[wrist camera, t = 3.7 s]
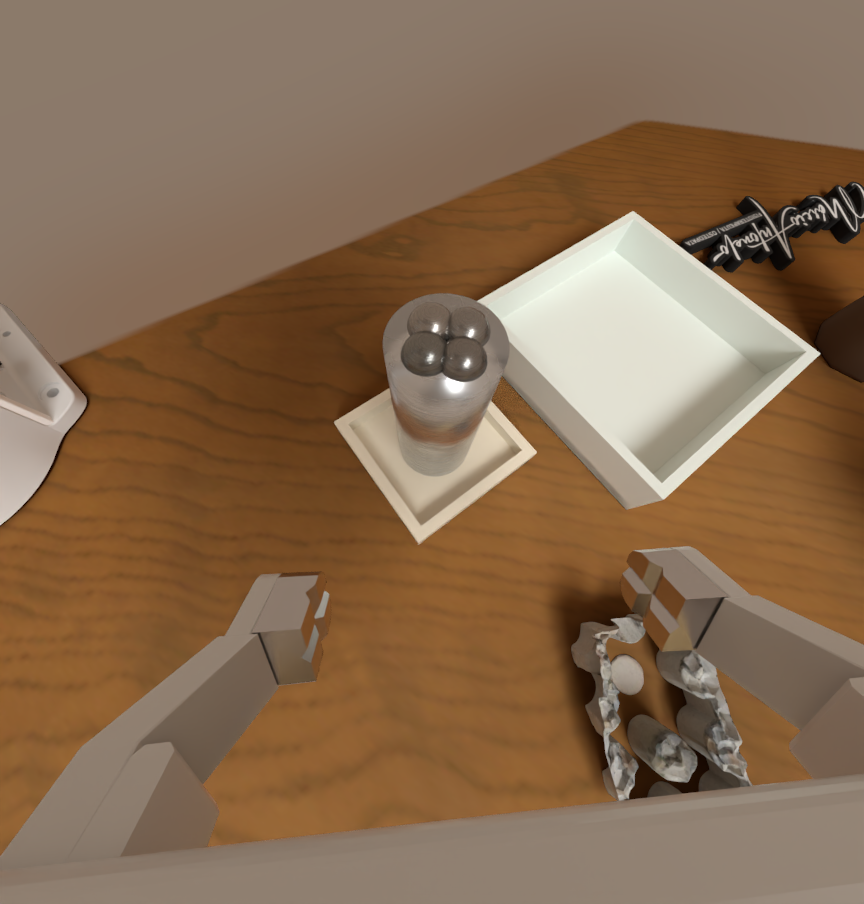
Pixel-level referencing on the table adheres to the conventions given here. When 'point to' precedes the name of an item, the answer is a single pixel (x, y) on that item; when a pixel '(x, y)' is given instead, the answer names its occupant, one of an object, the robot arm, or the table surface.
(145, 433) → the table surface
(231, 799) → the table surface
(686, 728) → the egg carton
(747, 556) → the table surface
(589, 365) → the bin
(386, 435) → the tray
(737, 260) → the nameplate
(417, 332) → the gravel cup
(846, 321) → the beer bottle
